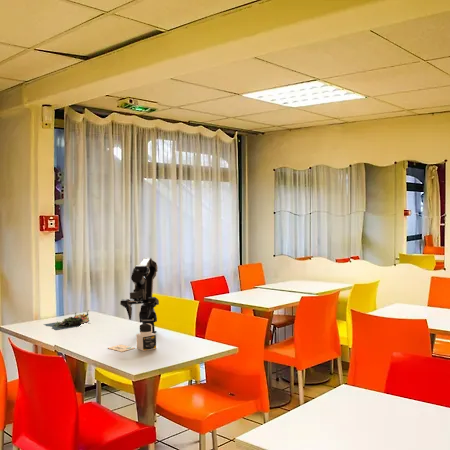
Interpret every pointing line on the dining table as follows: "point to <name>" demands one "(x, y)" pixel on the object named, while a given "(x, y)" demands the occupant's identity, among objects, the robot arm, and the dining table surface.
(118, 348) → the envelope
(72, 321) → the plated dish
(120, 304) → the robot arm
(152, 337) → the medicine bottle
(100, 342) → the dining table surface
